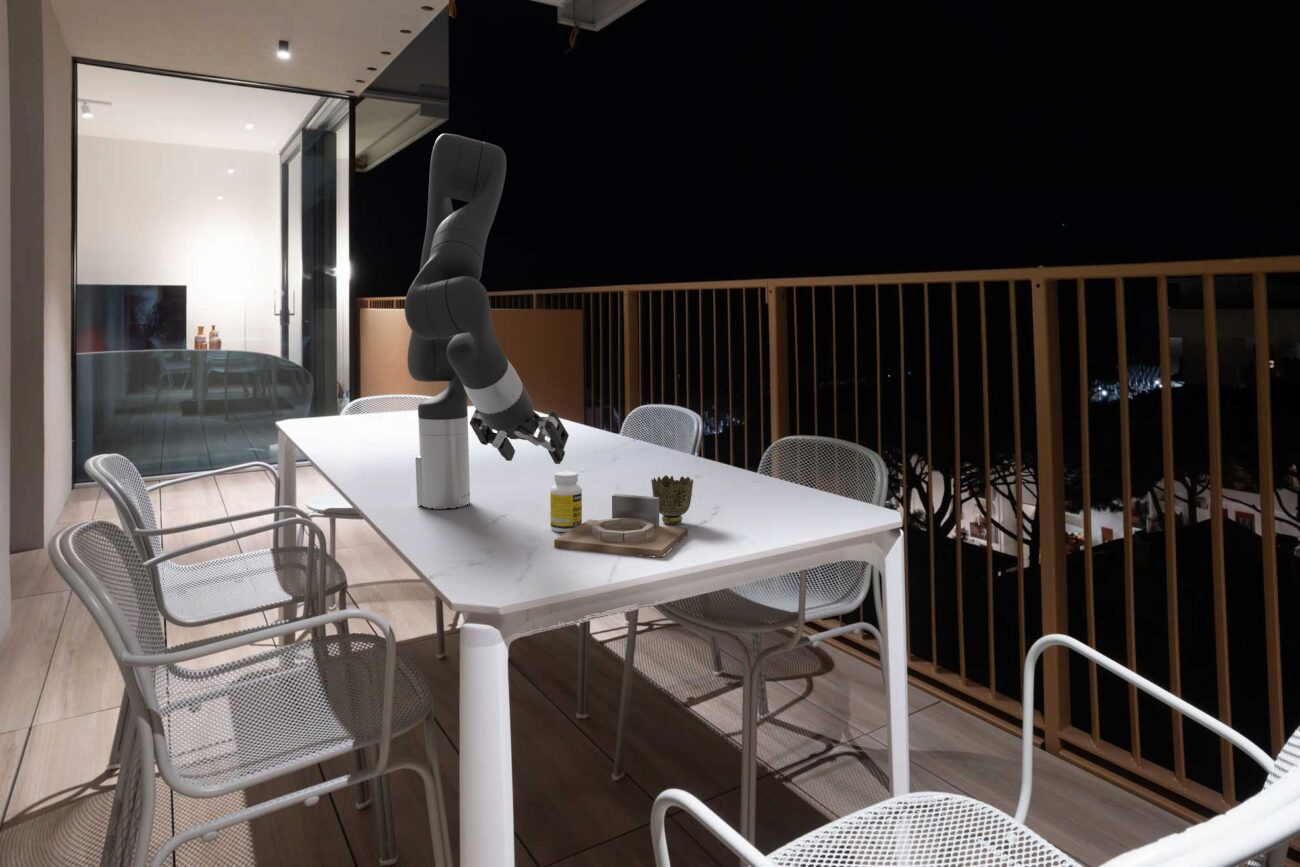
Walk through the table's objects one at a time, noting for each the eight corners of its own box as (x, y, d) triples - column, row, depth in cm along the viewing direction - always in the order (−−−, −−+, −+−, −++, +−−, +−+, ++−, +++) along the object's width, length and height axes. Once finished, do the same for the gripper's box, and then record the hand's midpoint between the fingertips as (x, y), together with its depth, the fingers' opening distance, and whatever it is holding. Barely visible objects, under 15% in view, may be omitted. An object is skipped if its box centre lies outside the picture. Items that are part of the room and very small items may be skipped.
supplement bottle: (577, 533, 138) (576, 476, 136) (546, 532, 139) (545, 475, 137) (585, 526, 143) (585, 471, 142) (556, 524, 144) (555, 469, 143)
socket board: (554, 547, 130) (553, 509, 129) (589, 526, 143) (589, 491, 142) (661, 558, 124) (661, 518, 123) (687, 535, 137) (688, 499, 136)
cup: (698, 520, 147) (698, 476, 146) (686, 530, 140) (686, 484, 139) (658, 516, 150) (659, 474, 149) (645, 526, 143) (645, 481, 142)
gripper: (549, 373, 116) (583, 441, 128) (462, 370, 121) (503, 436, 133) (533, 414, 112) (569, 480, 124) (443, 410, 116) (487, 474, 129)
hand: (535, 457), depth 129 cm, fingers open, 8 cm apart
